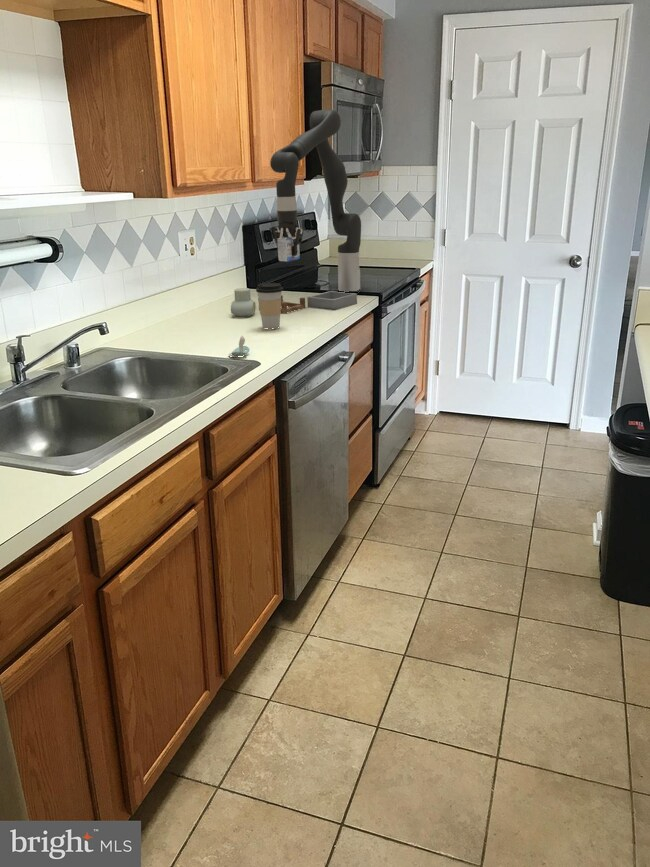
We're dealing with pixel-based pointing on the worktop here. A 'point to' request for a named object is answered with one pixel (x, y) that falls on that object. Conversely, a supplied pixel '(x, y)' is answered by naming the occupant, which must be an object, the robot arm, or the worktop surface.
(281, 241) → the medicine box
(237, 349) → the pacifier
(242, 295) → the air freshener
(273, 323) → the coffee cup
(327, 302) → the tray
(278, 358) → the worktop surface
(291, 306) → the holder
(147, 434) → the worktop surface
